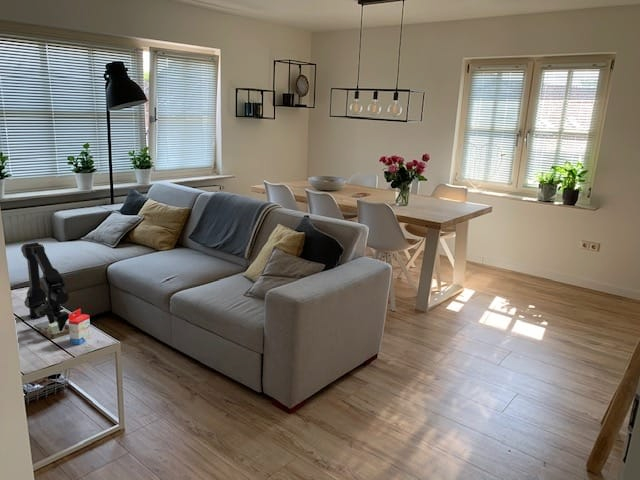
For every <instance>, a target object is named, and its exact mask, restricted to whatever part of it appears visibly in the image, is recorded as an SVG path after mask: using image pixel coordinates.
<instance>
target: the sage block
mask: <svg viewBox="0 0 640 480" xmlns="http://www.w3.org/2000/svg"><path fill="white" fill-rule="evenodd" d="M47 331H49V332H50V333H52V334H56V333H59V332H62V331H66V328H65V326H64V328H63V330H62V331H59V328H58V324H57V322H55V323H52V324H48V329H47Z"/></svg>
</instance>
